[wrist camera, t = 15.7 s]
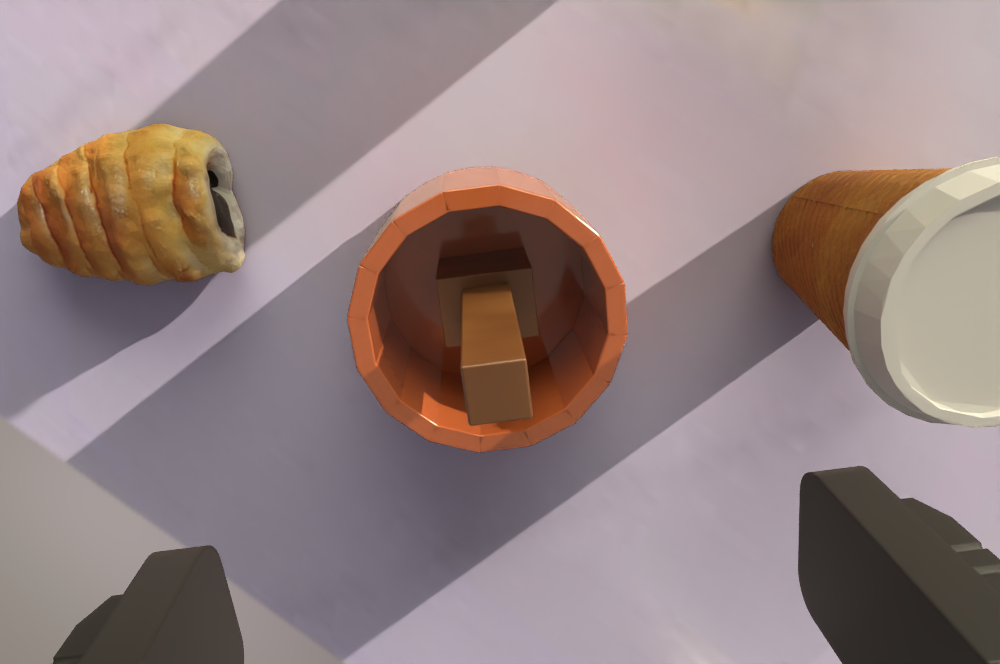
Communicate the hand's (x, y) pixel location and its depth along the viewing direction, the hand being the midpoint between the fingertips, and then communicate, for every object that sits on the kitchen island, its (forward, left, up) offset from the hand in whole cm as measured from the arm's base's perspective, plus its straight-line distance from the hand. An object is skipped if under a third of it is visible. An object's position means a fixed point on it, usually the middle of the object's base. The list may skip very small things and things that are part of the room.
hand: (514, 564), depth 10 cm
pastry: (-14, +3, -26) cm, 30 cm away
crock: (0, -3, -26) cm, 26 cm away
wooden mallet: (0, -3, -25) cm, 25 cm away
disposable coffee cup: (+17, -3, -26) cm, 31 cm away
